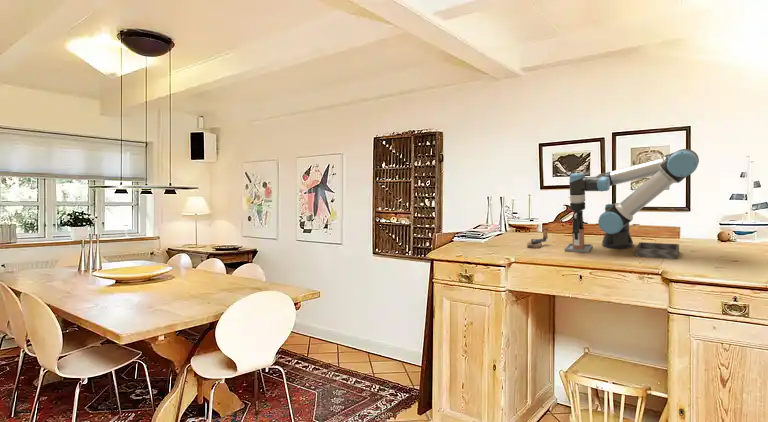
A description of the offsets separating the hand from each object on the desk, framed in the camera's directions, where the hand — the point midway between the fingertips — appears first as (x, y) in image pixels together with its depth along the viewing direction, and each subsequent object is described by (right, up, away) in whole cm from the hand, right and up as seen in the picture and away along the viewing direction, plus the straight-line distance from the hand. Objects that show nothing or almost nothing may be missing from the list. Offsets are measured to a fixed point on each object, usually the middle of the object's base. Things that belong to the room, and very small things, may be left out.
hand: (578, 243), depth 261 cm
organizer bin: (+31, -4, -21) cm, 38 cm away
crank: (-16, 0, +14) cm, 22 cm away
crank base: (-20, -3, +14) cm, 24 cm away
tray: (0, -3, +1) cm, 3 cm away
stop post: (0, -3, 0) cm, 3 cm away
